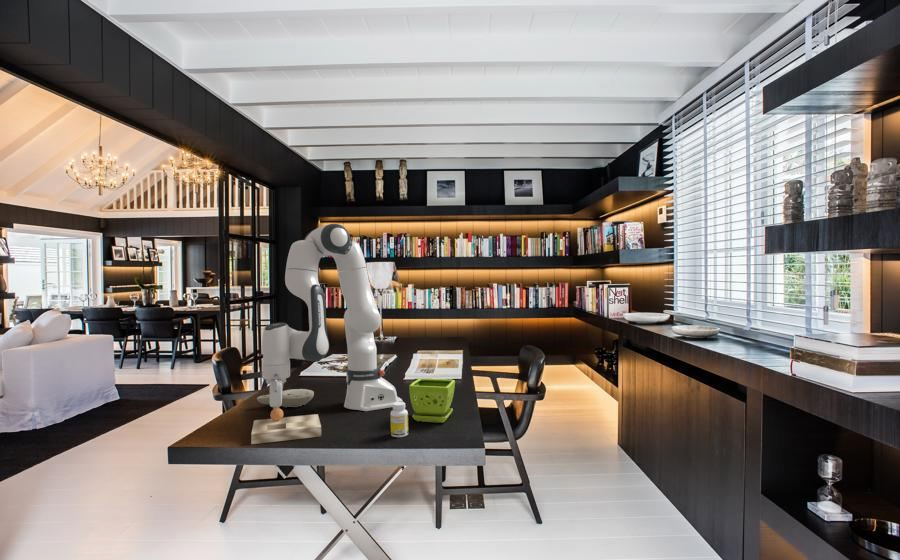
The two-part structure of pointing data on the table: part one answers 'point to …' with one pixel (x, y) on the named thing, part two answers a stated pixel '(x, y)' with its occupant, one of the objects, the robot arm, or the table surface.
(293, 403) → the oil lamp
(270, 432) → the hole board
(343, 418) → the table surface
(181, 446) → the table surface
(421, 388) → the flower pot
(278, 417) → the ball
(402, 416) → the supplement bottle
